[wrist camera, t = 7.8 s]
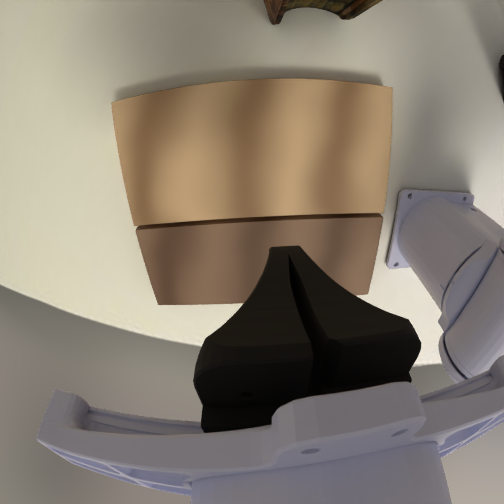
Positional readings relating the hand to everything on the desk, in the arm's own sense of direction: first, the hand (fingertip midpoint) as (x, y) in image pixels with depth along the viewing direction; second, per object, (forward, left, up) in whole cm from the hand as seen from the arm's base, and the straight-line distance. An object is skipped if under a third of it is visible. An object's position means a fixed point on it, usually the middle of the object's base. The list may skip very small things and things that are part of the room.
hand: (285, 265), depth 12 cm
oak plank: (+1, -3, -10) cm, 11 cm away
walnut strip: (+1, +6, -10) cm, 12 cm away
